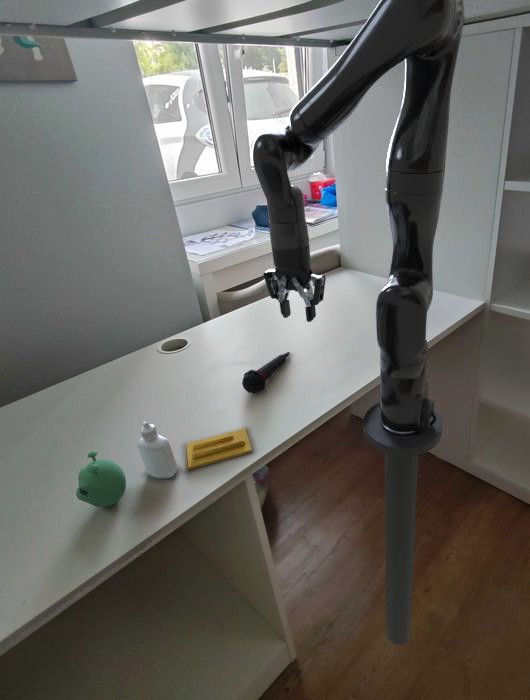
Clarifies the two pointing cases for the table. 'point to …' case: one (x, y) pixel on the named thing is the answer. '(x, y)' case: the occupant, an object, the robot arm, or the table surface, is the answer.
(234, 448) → the soap dish
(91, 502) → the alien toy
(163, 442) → the eye dropper bottle
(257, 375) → the microphone
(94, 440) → the table surface
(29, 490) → the table surface
